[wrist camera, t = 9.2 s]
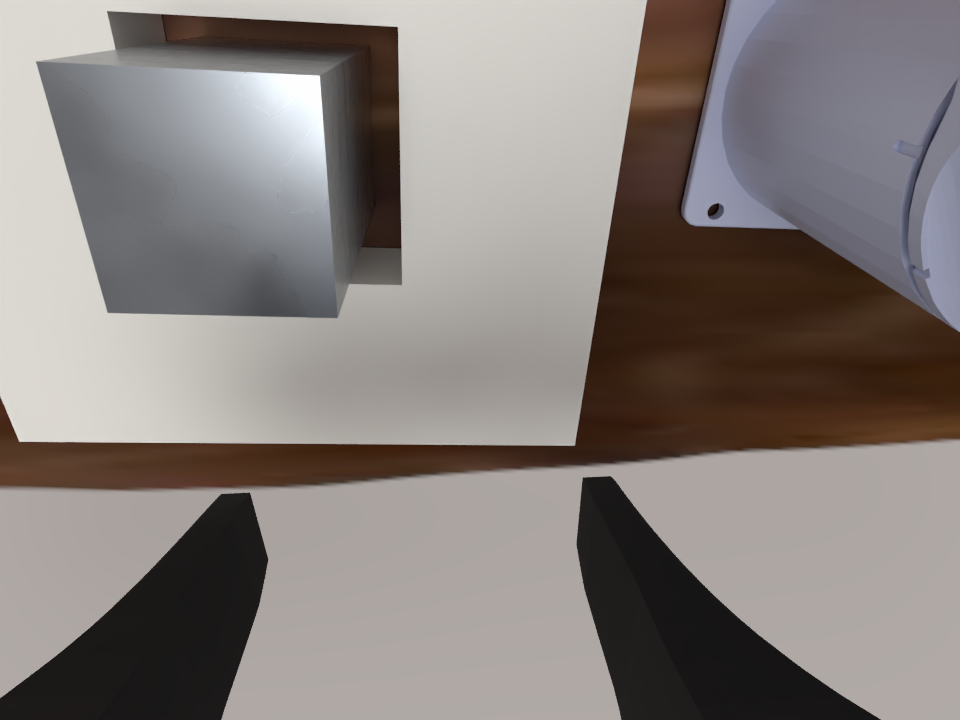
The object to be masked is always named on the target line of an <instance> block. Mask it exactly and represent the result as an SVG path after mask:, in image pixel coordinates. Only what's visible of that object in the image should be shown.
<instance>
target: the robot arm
mask: <svg viewBox="0 0 960 720" xmlns="http://www.w3.org/2000/svg"><path fill="white" fill-rule="evenodd" d="M716 203H719V209H718V211H717V213H715V214H714V215H712V216H708V214H707V211H708V209H709V207H710V206H712V205H713V204H716ZM681 214H682V216H683V218H684V219H685V220H686V221H687V222H688V223H689V224H691V225H694V226H713V227H743V228H773V229H800V230H802V231H803V232H805V233H806V234H808V235H809V236H811V237H812V238H814V239H816V240H817V241H819V242H820V243H822V244H823V245H825V246H826V247H828V248H830V249H831V250H833V251H834V252H836V253H837V254H839V255H840V256H842V257H844V258H845V259H847V260H848V261H850V262H851V263H853V264H854V265H856V266H858V267H859V268H861V269H862V270H864V271H865V272H867V273H868V274H870V275H872V276H873V277H875V278H876V279H878V280H879V281H881V282H882V283H884V284H886V285H887V286H889V287H890V288H892V289H893V290H895V291H896V292H898V293H899V294H901V295H903V296H904V297H906V298H907V299H909V300H910V301H912V302H913V303H915V304H917V305H918V306H920V307H921V308H923V309H924V310H926V311H927V312H929V313H931V314H932V315H934V316H935V317H937V318H938V319H940V320H941V321H943V322H945V323H946V324H948V325H949V326H951V327H952V328H954V329H955V330H957V331H958V332H960V0H727V1H726V5H725V10H724V14H723V19H722V24H721V28H720V33H719V37H718V42H717V46H716V51H715V56H714V60H713V65H712V69H711V74H710V78H709V83H708V87H707V92H706V97H705V101H704V106H703V110H702V115H701V119H700V124H699V129H698V133H697V138H696V142H695V147H694V151H693V156H692V160H691V165H690V170H689V174H688V179H687V183H686V188H685V192H684V197H683V202H682V206H681ZM577 549H578V555H579V561H580V566H581V572H582V578H583V583H584V589H585V592H586V595H587V599H588V603H589V606H590V609H591V612H592V616H593V620H594V623H595V626H596V629H597V633H598V636H599V640H600V643H601V646H602V649H603V653H604V656H605V660H606V663H607V666H608V670H609V673H610V676H611V679H612V683H613V686H614V690H615V694H616V698H617V702H618V706H619V710H620V715H621V719H622V720H880V719H879V718H877V717H876V716H874V715H872V714H871V713H869V712H867V711H866V710H864V709H863V708H861V707H859V706H857V705H856V704H854V703H853V702H851V701H850V700H848V699H846V698H845V697H843V696H842V695H840V694H838V693H837V692H836V691H834V690H833V689H831V688H830V687H828V686H827V685H825V684H824V683H822V682H821V681H820V680H818V679H817V678H815V677H814V676H812V675H811V674H809V673H808V672H806V671H805V670H804V669H802V668H801V667H800V666H798V665H797V664H795V663H794V662H793V661H792V660H790V659H789V658H788V657H786V656H785V655H784V654H782V653H781V652H780V651H779V650H777V649H776V648H775V647H773V646H772V645H771V644H769V643H768V642H767V641H766V640H764V639H763V638H762V637H760V636H759V635H758V634H757V633H756V632H754V631H753V630H752V629H751V628H750V627H748V626H747V625H746V624H745V623H744V622H743V621H741V620H740V619H739V618H738V617H737V616H736V615H735V614H733V613H732V612H731V611H730V610H729V609H728V608H727V607H726V606H725V605H724V604H722V603H721V602H720V601H719V600H718V599H717V598H716V597H715V596H714V595H713V594H712V593H711V592H710V591H709V590H708V589H707V588H706V587H705V586H704V585H703V584H702V583H701V582H700V581H699V580H698V579H697V578H696V577H695V576H694V575H693V574H692V573H691V572H690V571H689V570H688V569H687V568H686V567H685V566H684V565H683V564H682V562H681V561H680V560H679V559H678V558H677V557H676V556H675V555H674V554H673V553H672V551H671V550H670V549H669V548H668V547H667V546H666V544H665V543H664V542H663V541H662V540H661V539H660V538H659V537H658V535H657V534H656V533H655V532H654V531H653V529H652V528H651V527H650V526H649V524H648V523H647V522H646V521H645V520H644V518H643V517H642V516H641V514H640V513H639V512H638V511H637V509H636V508H635V507H634V506H633V504H632V503H631V502H630V500H629V499H628V498H627V497H626V495H625V494H624V492H623V491H622V490H621V488H620V487H619V485H618V484H617V483H616V481H615V480H614V479H613V478H612V477H610V476H608V477H587V478H583V482H582V492H581V502H580V513H579V524H578V534H577ZM267 563H268V557H267V553H266V550H265V546H264V542H263V539H262V535H261V531H260V528H259V524H258V521H257V517H256V513H255V510H254V506H253V502H252V499H251V495H250V493H234V494H221V495H220V496H219V497H218V498H217V499H216V500H215V501H214V502H213V503H212V504H211V506H210V507H209V508H208V509H207V510H206V511H205V512H204V513H203V514H202V515H201V516H200V517H199V519H198V520H197V521H196V522H195V523H194V524H193V525H192V527H190V528H189V530H188V531H187V532H186V533H185V534H184V535H183V536H182V538H180V539H179V540H178V542H177V543H176V544H175V545H174V546H173V547H172V548H171V549H170V550H169V551H168V552H167V553H166V554H165V555H164V556H163V557H162V558H161V560H160V561H159V562H158V563H157V564H156V565H155V566H154V567H153V568H152V569H151V570H150V571H149V572H148V573H147V574H146V575H145V576H144V577H143V578H142V579H141V580H140V581H139V582H138V583H137V584H136V585H135V586H134V587H133V588H132V589H131V590H130V591H129V592H128V593H127V594H126V595H125V596H124V597H123V598H122V599H121V600H120V601H119V602H117V603H116V604H115V605H114V607H112V609H110V610H109V611H108V612H107V613H106V614H105V615H104V616H103V617H102V618H100V620H98V621H97V622H96V623H95V624H94V625H93V626H91V627H90V628H89V629H88V630H87V631H86V632H84V633H83V634H82V635H81V636H80V637H78V638H77V639H76V640H75V641H74V642H73V643H72V644H70V645H69V646H68V647H67V648H65V649H64V650H63V651H62V652H61V653H59V654H58V655H57V656H56V657H54V658H53V659H52V660H50V661H49V662H48V663H46V664H45V665H44V666H42V667H41V668H40V669H39V670H38V671H36V672H35V673H33V674H32V675H31V676H29V677H28V678H27V679H25V680H24V681H23V682H21V683H20V684H19V685H17V686H16V687H15V688H13V689H12V690H11V691H9V692H8V693H7V694H6V695H4V696H3V697H1V698H0V720H221V719H222V715H223V712H224V709H225V706H226V702H227V700H228V697H229V694H230V691H231V688H232V685H233V682H234V679H235V676H236V673H237V670H238V667H239V664H240V661H241V658H242V655H243V652H244V649H245V646H246V643H247V640H248V637H249V634H250V631H251V628H252V625H253V622H254V619H255V616H256V613H257V610H258V607H259V603H260V598H261V594H262V589H263V584H264V579H265V574H266V568H267Z"/></svg>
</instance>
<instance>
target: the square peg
mask: <svg viewBox="0 0 960 720" xmlns="http://www.w3.org/2000/svg"><path fill="white" fill-rule="evenodd" d="M36 64H37V67H38V71H39V74H40V78H41V81H42V85H43V88H44V92H45V95H46V99H47V102H48V106H49V109H50V113H51V116H52V120H53V123H54V127H55V130H56V134H57V137H58V141H59V144H60V148H61V151H62V155H63V158H64V162H65V165H66V169H67V172H68V176H69V179H70V183H71V186H72V190H73V193H74V197H75V200H76V204H77V207H78V211H79V214H80V218H81V221H82V225H83V228H84V232H85V235H86V239H87V242H88V246H89V249H90V253H91V256H92V260H93V263H94V267H95V270H96V274H97V277H98V281H99V284H100V288H101V291H102V295H103V298H104V302H105V305H106V309H107V312H108V313H127V314H171V315H216V316H261V317H305V318H338V316H339V313H340V310H341V307H342V304H343V301H344V298H345V295H346V292H347V289H348V286H349V283H350V280H351V277H352V274H353V271H354V268H355V265H356V262H357V259H358V256H359V252H360V249H361V246H362V243H363V240H364V237H365V234H366V231H367V228H368V225H369V222H370V219H371V216H372V213H373V210H374V207H375V184H374V156H373V128H372V100H371V72H370V45H354V44H336V43H317V42H299V41H280V40H262V39H243V38H225V37H206V36H203V37H196V38H189V39H183V40H176V41H169V42H163V43H156V44H149V45H143V46H136V47H129V48H122V49H116V50H109V51H102V52H96V53H89V54H82V55H76V56H69V57H62V58H56V59H49V60H42V61H36Z"/></svg>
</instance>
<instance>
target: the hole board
mask: <svg viewBox="0 0 960 720" xmlns="http://www.w3.org/2000/svg"><path fill="white" fill-rule="evenodd" d="M646 3H647V0H0V396H1V399H2V401H3V404H4V406H5V408H6V411H7V413H8V416H9V418H10V420H11V423H12V425H13V427H14V430H15V432H16V435H17V437H18V439H19V442H142V443H280V444H418V445H556V446H575V441H576V434H577V428H578V422H579V416H580V410H581V404H582V397H583V391H584V385H585V379H586V373H587V367H588V360H589V354H590V348H591V342H592V336H593V330H594V323H595V317H596V311H597V305H598V299H599V293H600V286H601V280H602V274H603V268H604V262H605V256H606V249H607V243H608V237H609V231H610V225H611V219H612V212H613V206H614V200H615V194H616V188H617V182H618V175H619V169H620V163H621V157H622V151H623V145H624V138H625V132H626V126H627V120H628V114H629V108H630V101H631V95H632V89H633V83H634V77H635V71H636V64H637V58H638V52H639V46H640V40H641V34H642V27H643V21H644V15H645V9H646ZM161 14H170V15H189V16H207V17H225V18H244V19H262V20H281V21H299V22H317V23H336V24H354V25H373V26H391V27H398V60H399V122H400V184H401V246H402V248H370V247H361V249H360V252H359V256H358V259H357V262H356V265H355V268H354V271H353V274H352V277H351V280H350V283H349V286H348V289H347V292H346V295H345V298H344V301H343V304H342V307H341V310H340V313H339V316H338V318H305V317H261V316H216V315H171V314H127V313H108V312H107V309H106V305H105V302H104V298H103V295H102V291H101V288H100V284H99V281H98V277H97V274H96V270H95V267H94V263H93V260H92V256H91V253H90V249H89V246H88V242H87V239H86V235H85V232H84V228H83V225H82V221H81V218H80V214H79V211H78V207H77V204H76V200H75V197H74V193H73V190H72V186H71V183H70V179H69V176H68V172H67V169H66V165H65V162H64V158H63V155H62V151H61V148H60V144H59V141H58V137H57V134H56V130H55V127H54V123H53V120H52V116H51V113H50V109H49V106H48V102H47V99H46V95H45V92H44V88H43V85H42V81H41V78H40V74H39V71H38V67H37V64H36V61H42V60H49V59H56V58H62V57H69V56H76V55H82V54H89V53H96V52H102V51H109V50H116V49H122V48H129V47H136V46H143V45H149V44H156V43H163V42H166V37H165V32H164V27H163V21H162V16H161Z"/></svg>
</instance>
